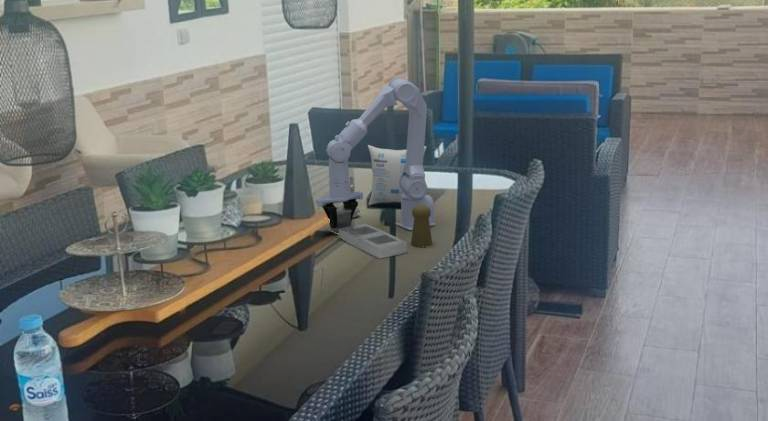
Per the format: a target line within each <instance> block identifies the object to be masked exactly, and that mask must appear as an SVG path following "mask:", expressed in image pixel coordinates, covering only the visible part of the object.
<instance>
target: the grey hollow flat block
mask: <svg viewBox="0 0 768 421" xmlns="http://www.w3.org/2000/svg"><path fill="white" fill-rule="evenodd" d="M339 237H341V238H342V239H344V240H345V241H346V242H345V241H344V242H345V243H347V244H349V245H350V246H352V247H355V248H356V249H358V250H361V251H363V252H365V253H366V254H369V255H371V256H372V257H374V258H376V259H379V260H381V259H385V258H389V257H394V256H398V255H404V254H407V253H408V241H405V240H404V239H401V238H399V237H397V236H394V235H392V234H390V233H387V232H385V231H383V230H381V229H379V228H376V227H374V226H372V225H370V224H368V223H360V224H355V225H351V226H350V227H345V228H340V229H339V236H338V238H339Z"/></svg>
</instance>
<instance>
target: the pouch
mask: <svg viewBox="0 0 768 421" xmlns="http://www.w3.org/2000/svg"><path fill="white" fill-rule="evenodd" d="M367 147H368V151H369V155H370V160H371V161H370V162H371V172H372V182H371V196H370V199H369V202H368V206H372V205H375V204H380V203H401V194H402V192H403V190H402V189H401V188H400V186H399V179H400V177H401V176H402V173H403V168H404V166H405V164H406V151H407V149H392V148H391V149H390V148H379V147H376V146H373V145H370V144H368V145H367ZM426 150H427V145H424V154H425V153H426Z"/></svg>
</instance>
